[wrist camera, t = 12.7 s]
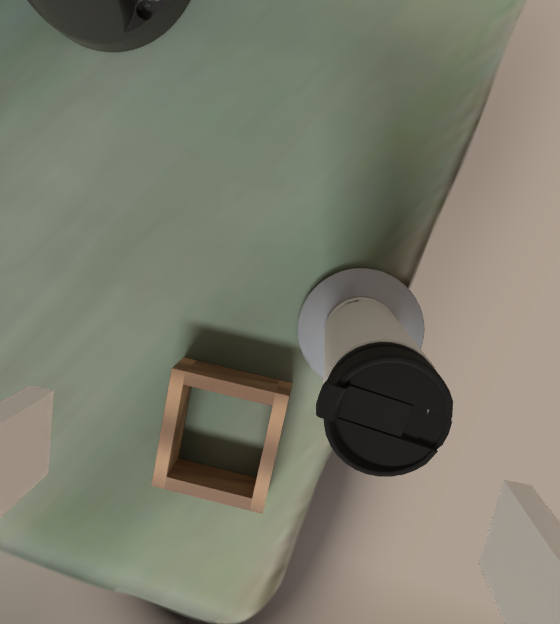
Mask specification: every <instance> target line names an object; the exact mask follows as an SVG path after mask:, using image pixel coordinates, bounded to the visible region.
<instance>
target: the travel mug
mask: <svg viewBox="0 0 560 624" xmlns="http://www.w3.org/2000/svg"><path fill="white" fill-rule="evenodd" d="M452 410H453V400H452V397H451V394H450V391H449V389H448V388H447V386H446V384H445V382H444V381H443V379H442V378H441V377H440V375H439V374H438V373H437V371H436V370H435V368H434V367H433V365H432V363H431V362H430V361H429V360H428V358H427V357H426V356H425V354H424V353H423V352H422V350H421V349H420V348H419V347H418V345H417V344H416V343H415V342H414V340H413V339H412V338H411V336H410V335H409V334H408V333H407V331H406V330H405V329H404V327H403V326H402V325H401V324H400V322H399V321H398V320H397V319H396V317H395V316H394V315H393V313H392V312H391V311H390V310H389V309H388V308H387V306H386V305H385V304H383V303H382V302H380V301H379V300H377V299H374V298H372V297H367V296H354V297H350V298H347V299H344V300H343V301H341V302H339V303H338V304H337V305H336V306H335V307H334V308H333V309H332V310H331V312H330V313H329V315H328V317H327V319H326V322H325V327H324V378H323V386H322V389H321V391H320V393H319V396H318V400H317V403H316V415H317V416H318V417H320V418H323V419H324V426H325V432H326V436H327V438H328V441H329V443H330V446H331V447H332V449H333V450H334V451H335V453H336V454H337V456H338V457H339V458H341V459H342V460H343V461H344V462H345V463H346V464H347V465H349V466H351V467H352V468H354V469H355V470H358V471H360V472H363V473H365V474H369V475H375V476H396V475H403V474H406V473H409V472H412V471H414V470H416V469H418V468H420V467H422V466H424V465H425V464H427V462H428V461H429V460H430V459H431V458H432V457H433V456H434V455H435V454H436V453H437V452H438V451H437V449H438V448H439V447H440V446H441V445H443V443H444V441H445V439H446V438H447V436H448V434H449V430H450V427H451V424H452V421H451V418H452Z"/></svg>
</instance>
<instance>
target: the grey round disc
mask: <svg viewBox="0 0 560 624" xmlns="http://www.w3.org/2000/svg"><path fill="white" fill-rule="evenodd" d="M354 296H367V297H372V298H374V299H377V300H379V301H380V302H382V303H383V304H385V305H386V306H387V308H388V309H389V310H390V311H391V312H392V313H393V315H394V316H395V317H396V319H397V320H398V321H399V322H400V324H401V325H402V326H403V327H404V329H405V330H406V331H407V333H408V334H409V335H410V336H411V338H412V339H413V340H414V342H415V343H416V344H417V345H418V347H419V348H420V349H421V347H422V343H423V338H424V320H423V315H422V311H421V309H420V306H419V304H418V302H417V300H416V298H415V297H414V295H413V294H412V292H411V291H410V290H409V289H408V288H407V287H406V286H405V285H404V284H403V283H402V282H400V281H399V280H398V279H396V278H395V277H393V276H391V275H389V274H387V273H385V272H382V271H379V270H375V269H369V268H353V269H347V270H343V271H340V272H337V273H335V274H333V275H331V276H329V277H327V278H326V279H324V280H323V281H322V282H320V283H319V284H318V285H317V286H316V287H315V288H314V289H313V290H312V291H311V293H310V294H309V295H308V297H307V299H306V300H305V302H304V304H303V307H302V309H301V313H300V316H299V321H298V339H299V344H300V348H301V351H302V353H303V356H304V357H305V359H306V361H307V363H308V364H309V365H310V367H311V368H312V369H313V370H314V371H315V372H316V373H317V374H318V375H319V376H320V377H321V378H324V327H325V322H326V319H327V317H328V315H329V313H330V312H331V310H332V309H333V308H334V307H335V306H336V305H337V304H338V303H339V302H341V301H343V300H344V299H347V298H350V297H354Z"/></svg>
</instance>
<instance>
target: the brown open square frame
mask: <svg viewBox="0 0 560 624" xmlns="http://www.w3.org/2000/svg"><path fill="white" fill-rule="evenodd" d="M191 386H192V387H196V388H200V389H204V390H208V391H213V392H217V393H221V394H225V395H229V396H233V397H238V398H242V399H246V400H250V401H254V402H259V403H263V404H267V405H271V406H273V407H272V412H271V416H270V421H269V425H268V430H267V434H266V439H265V443H264V448H263V452H262V457H261V461H260V466H259V470H258V475H257V478H255V477H251V476H247V475H243V474H239V473H235V472H231V471H227V470H223V469H219V468H215V467H211V466H207V465H203V464H199V463H195V462H191V461H187V460H183V459H179V458H178V457H179V452H180V446H181V441H182V435H183V430H184V424H185V419H186V414H187V408H188V403H189V397H190V392H191ZM291 386H292V383H291V382H286V381H282V380H278V379H274V378H270V377H265V376H261V375H257V374H253V373H248V372H244V371H240V370H236V369H231V368H227V367H223V366H219V365H214V364H210V363H206V362H202V361H197V360H193V359H189V358H185V357H184V358H183V359H182V360H180V361H179V362H178V363H177V364H176V365H175V366H174V367H173V368H172V370H171V376H170V382H169V388H168V393H167V399H166V405H165V411H164V416H163V422H162V428H161V434H160V439H159V445H158V451H157V457H156V462H155V468H154V474H153V480H152V485H151V486H155V487H159V488H163V489H167V490H171V491H175V492H179V493H183V494H187V495H191V496H195V497H198V498H202V499H206V500H210V501H214V502H218V503H222V504H226V505H230V506H234V507H238V508H242V509H246V510H250V511H254V512H258V513H262V514H263V509H264V505H265V501H266V496H267V492H268V488H269V483H270V479H271V474H272V470H273V466H274V461H275V457H276V453H277V448H278V444H279V439H280V435H281V431H282V426H283V422H284V417H285V413H286V409H287V404H288V400H289V396H290V391H291Z"/></svg>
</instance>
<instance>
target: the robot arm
mask: <svg viewBox="0 0 560 624" xmlns="http://www.w3.org/2000/svg"><path fill="white" fill-rule="evenodd" d="M27 1H28V2H29V3H30V5H31V6H32V7H33V8H34V9H35V10H36V12H37V13H38V14H39V15H40V16H41V17H42V18H43V19H44V20H45V21H46V22H47V23H49V24H50V25H51V26H52V27H54V28H55V29H57V30H58V31H59V32H61V33H62V34H63V35H65V36H66V37H67V38H69V39H70V40H72V41H74V42H76V43H78V44H79V45H82V46H84V47H87V48H90V49H93V50H97V51H104V52H123V51H129V50H133V49H137V48H139V47H142V46H144V45H147V44H149V43H151V42H152V41H154V40H156V39H157V38H159V37H160V36H161V35H163V34H164V33H165V32H166V31H167V30H168V29H170V28H171V27H172V25H173V24H174V23H175V22H176V21H177V20H178V18H179V17H180V16H181V14H182V13H183V11H184V10H185V8H186V6H187V5H188V3H189V1H190V0H27ZM53 395H54V390H49V389H44V388H39V387H34V386H28V387H26V388H24V389H22V390H20V391H19V392H17V393H15V394H13V395H12V396H10V397H8V398H6V399H4V400H3V401H1V402H0V518H1V517H2V516H3V515H4V514H5V513H6V512H7V511H9V510H10V509H11V508H12V507H13V506H14V505H15V504H16V503H17V502H18V501H19V500H20V499H22V498H23V497H24V496H25V495H26V494H27V493H28V492H29V491H30V490H31V489H32V488H33V487H35V486H36V485H37V484H38V483H39V482H40V481H41V480H42V479H43V478H44V477H45V476H46V475H48V469H49V455H50V440H51V425H52V410H53ZM479 566H480V569H481V571H482V573H483V575H484V578H485V580H486V582H487V584H488V587H489V589H490V591H491V593H492V596H493V598H494V600H495V602H496V604H497V607H498V609H499V611H500V614H501V616H502V618H503V620H504V622H505V624H560V522H559V520H558V519H557V518H556V516H555V515H554V514H553V513H552V511H551V510H550V509H549V508H548V506H547V505H546V504H545V502H544V501H543V500H542V498H541V497H540V496H539V495H538V493H537V492H536V491H535V489H534V488H533V487H532V486H531V485H527V484H522V483H517V482H512V481H507V480H503V484H502V487H501V490H500V494H499V497H498V500H497V504H496V507H495V511H494V514H493V517H492V520H491V524H490V527H489V531H488V534H487V537H486V541H485V544H484V548H483V551H482V554H481V558H480V561H479Z"/></svg>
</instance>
